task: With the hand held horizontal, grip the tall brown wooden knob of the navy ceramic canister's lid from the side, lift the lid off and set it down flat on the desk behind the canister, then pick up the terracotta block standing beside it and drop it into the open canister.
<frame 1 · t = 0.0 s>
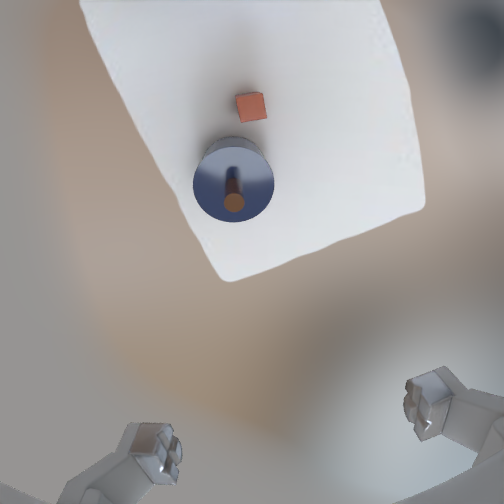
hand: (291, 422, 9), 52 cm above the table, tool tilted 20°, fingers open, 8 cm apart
block: (248, 103, 50), on the table
lid: (233, 184, 47), point 10 cm above the table, touching canister
canister: (233, 166, 56), on the table
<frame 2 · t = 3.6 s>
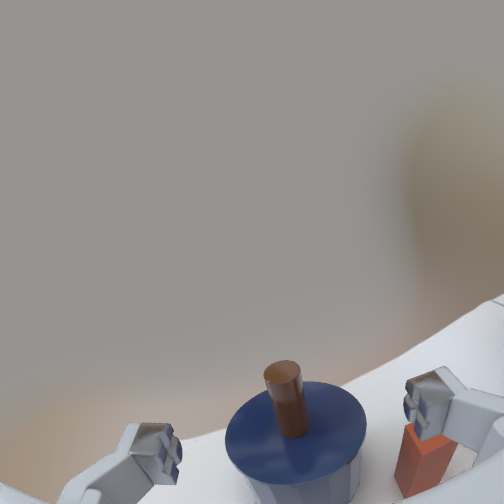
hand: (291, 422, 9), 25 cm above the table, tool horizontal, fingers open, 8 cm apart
block: (415, 480, 21), on the table
lid: (295, 430, 24), point 10 cm above the table, touching canister
canister: (307, 480, 26), on the table
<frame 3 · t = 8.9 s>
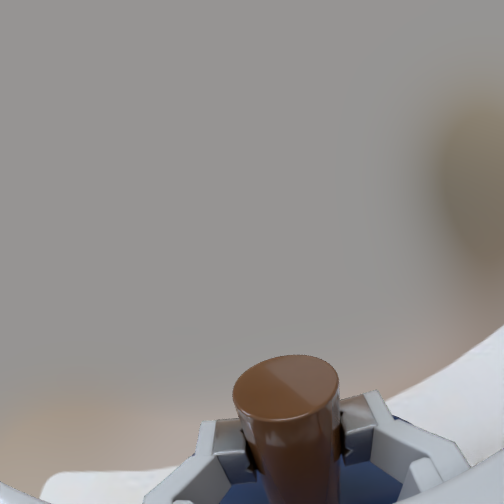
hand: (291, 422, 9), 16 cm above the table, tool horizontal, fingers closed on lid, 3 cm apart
when the fingers open (6 cm above the table, at t = 18.0 s): lid stays where it is, point 1 cm above the table.
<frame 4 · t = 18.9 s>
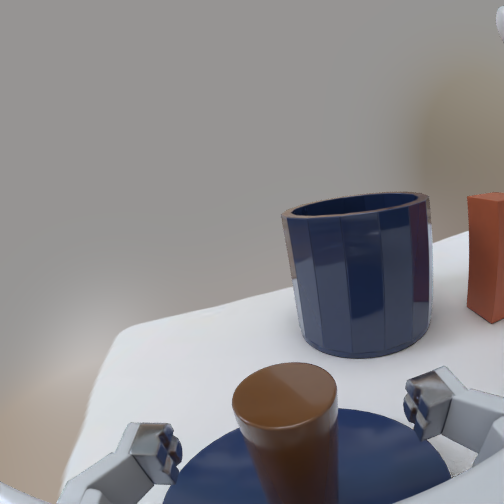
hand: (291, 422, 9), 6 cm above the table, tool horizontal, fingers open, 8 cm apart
block: (493, 308, 20), on the table
canister: (366, 319, 25), on the table
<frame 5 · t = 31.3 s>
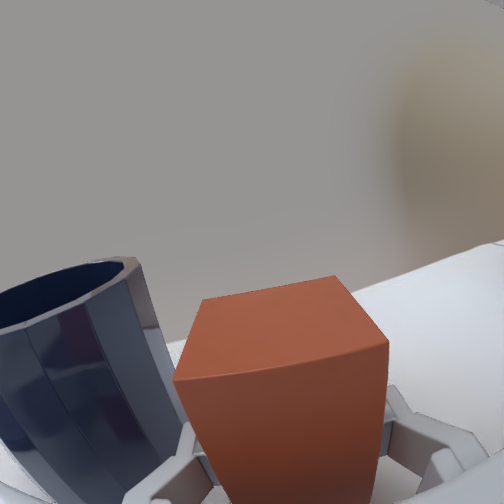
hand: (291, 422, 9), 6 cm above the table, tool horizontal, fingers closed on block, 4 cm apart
canister: (109, 444, 14), on the table
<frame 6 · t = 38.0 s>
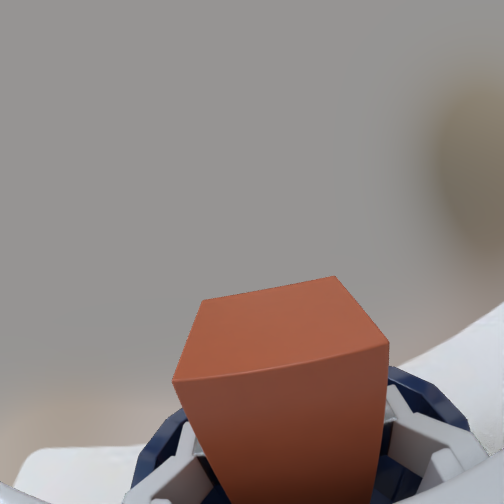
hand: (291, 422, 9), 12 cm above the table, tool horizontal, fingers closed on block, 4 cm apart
when the fingers open (15 cm above the table, at t = 52.0 s): block drops 9 cm, resting on canister.
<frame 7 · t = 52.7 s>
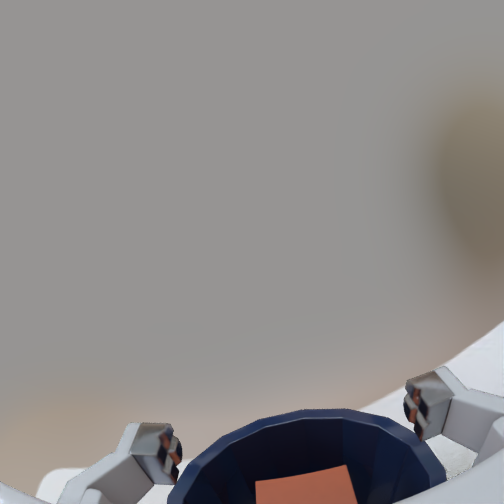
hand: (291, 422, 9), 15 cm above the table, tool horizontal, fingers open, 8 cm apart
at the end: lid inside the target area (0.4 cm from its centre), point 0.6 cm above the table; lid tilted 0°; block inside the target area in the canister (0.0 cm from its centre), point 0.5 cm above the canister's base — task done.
